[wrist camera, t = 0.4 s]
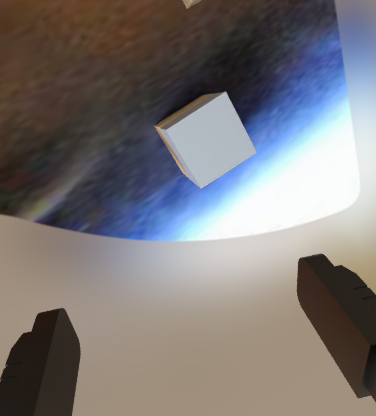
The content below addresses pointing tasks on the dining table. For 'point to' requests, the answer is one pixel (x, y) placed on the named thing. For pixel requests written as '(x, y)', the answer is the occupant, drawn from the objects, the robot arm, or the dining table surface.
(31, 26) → the dining table surface
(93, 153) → the dining table surface
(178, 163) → the tower base
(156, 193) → the dining table surface
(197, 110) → the tower mid
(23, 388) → the robot arm
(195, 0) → the maple block
